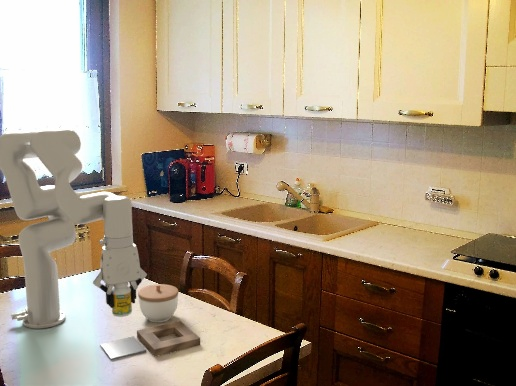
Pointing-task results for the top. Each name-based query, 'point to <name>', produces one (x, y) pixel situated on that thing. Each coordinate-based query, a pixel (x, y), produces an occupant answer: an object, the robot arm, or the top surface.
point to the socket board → (158, 348)
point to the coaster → (122, 348)
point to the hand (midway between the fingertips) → (121, 303)
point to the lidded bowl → (158, 302)
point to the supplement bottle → (121, 300)
